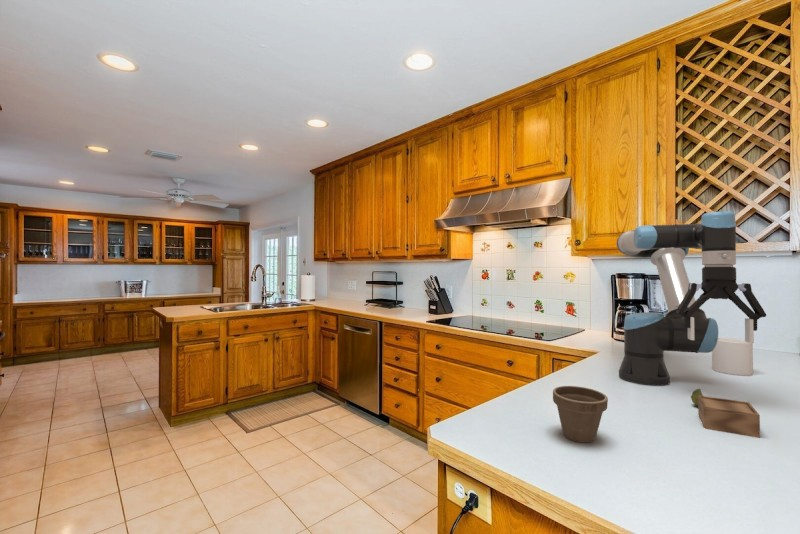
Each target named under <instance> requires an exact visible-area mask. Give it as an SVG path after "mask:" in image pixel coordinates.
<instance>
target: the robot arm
mask: <svg viewBox="0 0 800 534" xmlns="http://www.w3.org/2000/svg"><path fill="white" fill-rule="evenodd" d="M700 220H701V221H700V223H685V224H684V223H683V224H662V225H661V224H658V225H657V224H654V225H651V224H647V225H639V226H637V227H636V228H635V229H634V230H628V231H627V230H626V231H624V232H623V233H621V234H620V235H619V236H618V238H617V239H616V248H617V249H618V251H619V252H620V253H621V254H623V255H625V256H627V257H631V258H637V259H638V258H641V259H642V258H643V259H644V258H645V259H647V258H648V259H649V261H650V262H651V264H652V265H654V266H656V270H657V273H658V278H659V279H660V283H661V284H660V285H661V288H662V292H663V295H664V299H665V303H666V307H667V312H666V314H665V315H664V313H663V312H658V311H657V312H656V311H655V312H653V311H652V312H650V311H649V312H637V313H636V312H635V313H631V314H628V315H626V316H625V317H624V323H623V333H624V334H623V335H624V336H623V337H624V339H623V340H624V341H623V342H624V347H623V349H624V355H623V358H622V361H621V364H620V365H619V366H620V367H619V369H618V377H619V378H620V379H622V380H624V381H627V382H630V383H633V384H639V385H640V384H641V385H646V386H648V385H649V386H666V385H669V384H670V383H671V375H670V373H669V370H668V368H667V365H666V362H665V359H664V357H665V356H664V353H665V352H664V351H666V352H683V353H695V354H699V353H700V354H701V353H702V354H703V353H704V354H705V353H712V351H713V350H714V348H715V347H716V344H717V341H718V338H719V326H718V322H717V321H716V319H715V318H713V317H712V318H711V317H707V315H706V312H705V310H703V309H701V307H702V306H703V305H704V304H705V303H706V302H707V301H708V300H710V299H712V300H719V299H720V300H730V301H731V302H732V303H733V304H734V305H735V306H736V307H738V308H739V310H740V311H741V312H742V313H744V315H746V316H747V317H748V318H747V317H746V318H744V340H745V342H748V343H753V344H754V340H755V339H754V338H755V337H754V336H755V335H754V331H758V320H759V319H761V318H765V317H767V314H766V312H765V310H764V308H763V307H762V305H761V304H760V302H759V301H758V299H757V298H756V296H755V294H754V292H753V289H752V285H751V283H744V282H742V283H740V284H738V283H737V267H736V266H735V265H736V264H737V251H736V250H737V249H736V247H737V245H736V244H737V243H736V241H737V235H736V234H737V231H736V230H737V223H736V215H735V213H734V212H732V211H730V210H729V211H728V210H727V211H726V210H725V211H710V212H706V213H703V214H702V215H701V219H700ZM690 249H694V250H695V249H696V250H699V249H700V250H701V265H703V266H704V267H703V266H702V268H701V280H702V281H701V283H697V282H690V280H689V277H688V273H687V271H686V267H685V264H684V259H686V256H687V255H688V253H689V250H690ZM700 289H701V291H702V292H703V293H702V294H700V295H699V297H698V298H697V299H696V298H695V294H696V293H697V292H698V291H699V290H700ZM737 290H739V292H740V291H741V292H742V294H743V297H745V300H746V301H747V302H748V304H749V306H750V307H751V308H750V307H749V306H748V305H747V304H746V303H745V302H744V301H743V299H741V298H740V296H739V295H737V293H736V291H737Z"/></svg>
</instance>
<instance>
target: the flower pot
mask: <svg viewBox="0 0 800 534" xmlns="http://www.w3.org/2000/svg"><path fill="white" fill-rule="evenodd" d="M608 400H609V398H608V396H607V395H606V394H605V393H603V392H600V391H598V390H596V389H593V388H590V387H589V388H588V387H585V386H576V385H575V386H574V385H561V386H557V387H554V389H553V390H552V401H553V403H554V404H555V405H556V408H557V413H558V416H559V421H560V426H561V428H562V429H561V431H562V432H563V435H564V436H565V437H566V438H567V439H569V440H570V441H574V442H578V443H583V444H584V443H592V442H594V440H595V439H596V437H597V435H598V434H597V433H598V432H599V431H598V430H599V427H600V423H601V421H602V420H601V419H602V417H603V413H604V412H605V411H607V409H608V404H609V403H608Z"/></svg>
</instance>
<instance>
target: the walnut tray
mask: <svg viewBox="0 0 800 534" xmlns="http://www.w3.org/2000/svg"><path fill="white" fill-rule="evenodd" d="M697 407H698V408H697V409H698V410H697V411H698V414H697V416H698V415H699V416H698V418H699V420H700V423H701V422H702V423H701V426H702V427H703V429H704V428H705V429H704V430H712V431H717V432H721V433H729V434H734V435H739V436H746V437H752V438H756V439H757V438H758V439H761V430H760V429H761V424H760V421H761V420H760V413H759V412H758V411H757V410H756V409H755V408H754V407H753V406H752V404H751V403H750V402H749V401H740V400H736V399H735V400H733V399H727V398H718V397H712V396H704V395H703V396H699V395H698V406H697Z"/></svg>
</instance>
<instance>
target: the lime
mask: <svg viewBox="0 0 800 534" xmlns="http://www.w3.org/2000/svg"><path fill="white" fill-rule="evenodd" d="M698 395H699V396H704V395H703V392H702V389H701V388H698V389H695V390H693V392H692V393H691V396H690V398H691V402H692V403H693V404H694V405H695V406H697V407H698Z"/></svg>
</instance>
